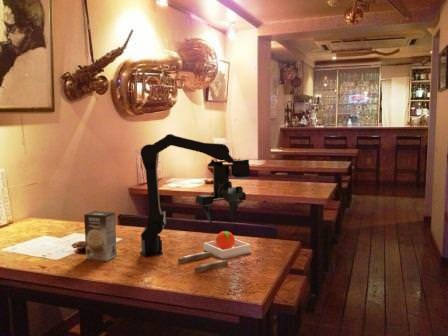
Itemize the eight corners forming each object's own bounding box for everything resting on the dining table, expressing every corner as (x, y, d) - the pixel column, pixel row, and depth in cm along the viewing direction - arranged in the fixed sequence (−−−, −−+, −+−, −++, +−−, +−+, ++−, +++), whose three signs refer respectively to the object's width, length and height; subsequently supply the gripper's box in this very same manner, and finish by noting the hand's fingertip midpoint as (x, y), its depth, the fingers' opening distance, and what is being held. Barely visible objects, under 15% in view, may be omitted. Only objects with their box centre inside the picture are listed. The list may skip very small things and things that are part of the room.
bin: (222, 259, 139) (222, 250, 138) (203, 250, 149) (203, 242, 148) (250, 252, 145) (250, 244, 145) (230, 244, 155) (230, 237, 155)
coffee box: (85, 259, 142) (82, 214, 140) (96, 253, 148) (94, 210, 146) (107, 261, 139) (105, 215, 137) (117, 255, 145) (115, 211, 143)
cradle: (196, 273, 126) (196, 267, 126) (178, 262, 136) (177, 257, 136) (227, 265, 133) (227, 259, 132) (208, 255, 143) (208, 250, 142)
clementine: (238, 252, 144) (238, 233, 143) (219, 254, 142) (219, 234, 141) (231, 246, 151) (231, 227, 151) (213, 248, 150) (213, 229, 149)
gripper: (211, 183, 133) (211, 229, 135) (255, 178, 144) (255, 221, 145) (194, 179, 142) (195, 223, 144) (237, 175, 153) (237, 216, 154)
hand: (221, 221), depth 147 cm, fingers open, 9 cm apart
